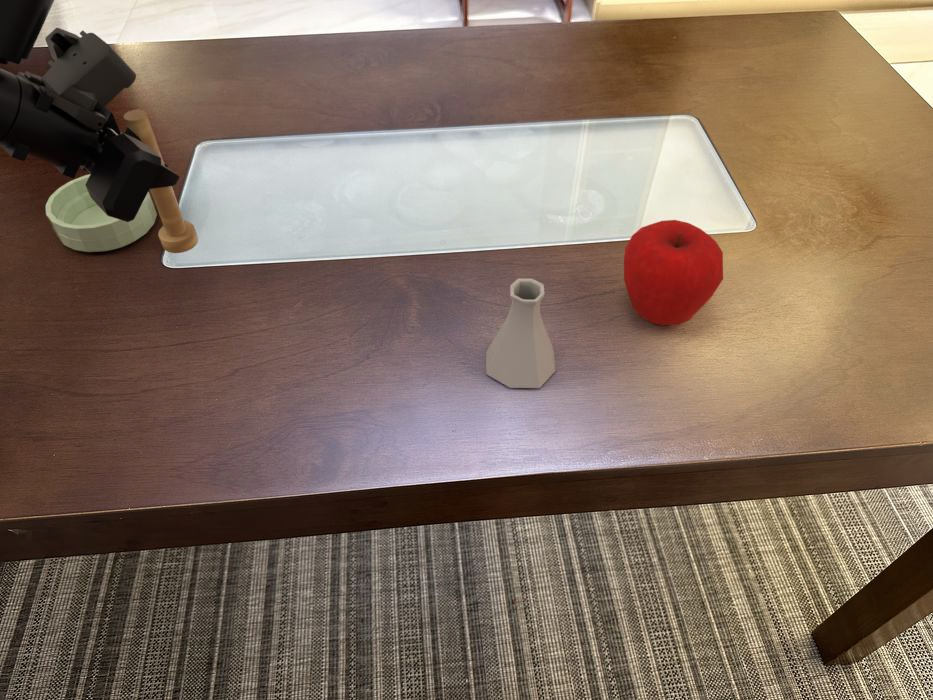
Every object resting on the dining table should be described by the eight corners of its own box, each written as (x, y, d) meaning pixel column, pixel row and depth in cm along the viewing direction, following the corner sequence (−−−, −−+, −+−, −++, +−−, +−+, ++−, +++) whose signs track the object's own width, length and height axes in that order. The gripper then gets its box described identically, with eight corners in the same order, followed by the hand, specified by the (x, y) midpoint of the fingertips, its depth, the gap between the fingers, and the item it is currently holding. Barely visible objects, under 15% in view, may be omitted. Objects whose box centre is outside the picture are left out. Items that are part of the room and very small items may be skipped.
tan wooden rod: (172, 258, 74) (124, 129, 63) (156, 241, 75) (107, 114, 65) (204, 243, 75) (163, 115, 65) (188, 227, 77) (144, 100, 66)
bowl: (47, 258, 83) (32, 230, 80) (74, 201, 90) (61, 173, 87) (148, 253, 83) (136, 225, 80) (165, 196, 91) (156, 169, 88)
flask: (564, 347, 74) (575, 273, 66) (546, 399, 69) (556, 325, 62) (496, 330, 75) (500, 256, 68) (474, 380, 71) (476, 306, 63)
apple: (724, 325, 76) (755, 244, 68) (652, 357, 73) (675, 275, 65) (665, 271, 82) (687, 190, 74) (595, 297, 79) (611, 216, 71)
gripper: (94, 57, 51) (261, 141, 64) (2, -20, 60) (164, 67, 74) (29, 193, 53) (203, 247, 66) (-51, 99, 62) (116, 163, 76)
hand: (171, 175), depth 70 cm, fingers closed on tan wooden rod, 2 cm apart
